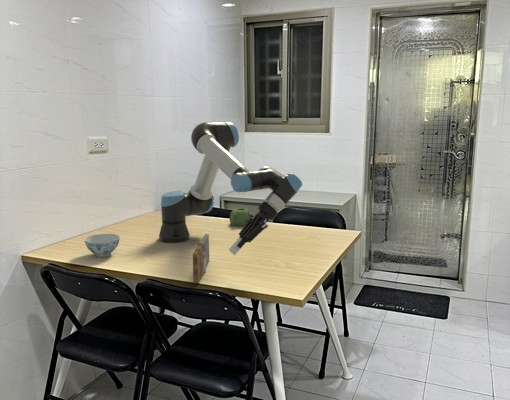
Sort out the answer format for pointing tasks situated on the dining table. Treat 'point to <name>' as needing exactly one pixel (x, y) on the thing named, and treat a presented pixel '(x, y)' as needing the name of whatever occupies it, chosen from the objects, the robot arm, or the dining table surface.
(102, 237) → the chinaware
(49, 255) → the dining table surface
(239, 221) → the green round pot
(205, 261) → the hinge panel
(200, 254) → the brown flat wooden board
